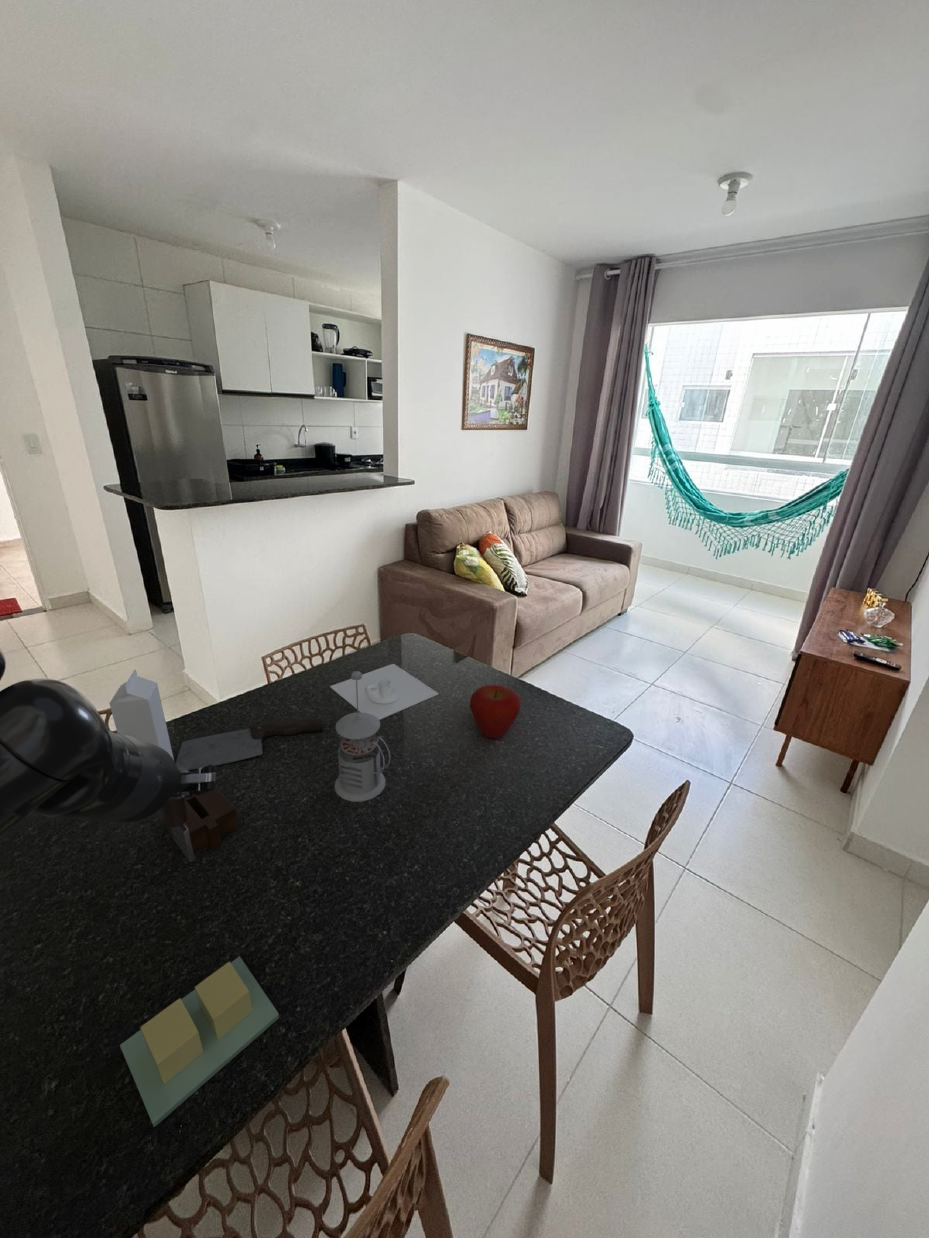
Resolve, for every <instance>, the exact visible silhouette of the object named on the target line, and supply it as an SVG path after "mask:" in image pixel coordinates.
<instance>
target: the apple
mask: <svg viewBox="0 0 929 1238" xmlns="http://www.w3.org/2000/svg"><path fill="white" fill-rule="evenodd" d="M521 703H522V701H521V698H520V696H519V694H518V693H517V692H515V691H514V690H513V689H511V688H510V687H507V686H504V685H500V684H485V685H482V686H480V687H479V688H478V689H476V690H475V691H474V692H473V693H472V694H471V697H470V701H469V708H470V711H471V713H472V716H473V719H474V721H475V723H476V724H475V725H476V726H477V728H478V732H480V733H481V734H482V735H484V736H485V737H486V738H489V739H498V738H500V737H502V736H505V734H506V733H508V732H509V729H511V727H512V725H513V724H514V722H515V721H516V719H517V717H518V716H519V714H520V711H521Z"/></svg>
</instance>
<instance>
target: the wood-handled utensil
mask: <svg viewBox="0 0 929 1238" xmlns="http://www.w3.org/2000/svg"><path fill="white" fill-rule="evenodd" d="M162 809H163V813H164V817H165V821H166V824H167V826H169V827H171V830H172V834H173V837H172V839H173V838H174V839H173V841H174V843H176V845H177V846H178V848H179V849H180V851H181V852H182V853H183V855H184V856H185V857H186V859H187V860H188V862H189V863H192V862H194V861H196V857H195V853H194V852H193V848H192V843H191V839H190V834H189V830H188V829H187V827H186V826H185V825H184V823H185V822H186V821H187V819H188V812H187V808H186V803H185V799H184V798H181V799H179V800H171V801H167V803H166V804H165V805H164V806H163V807H162Z"/></svg>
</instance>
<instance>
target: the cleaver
mask: <svg viewBox="0 0 929 1238" xmlns="http://www.w3.org/2000/svg"><path fill="white" fill-rule="evenodd" d="M322 731H324V720H323V718H320V717H317V718H316V717H312V718H299V719H298V718H297V719H288V720H280V721H273V722H266V723H265V722H264V723H260V724H255V725H254V724H253V725H252V726H251V727H250V728H244V729H238V730H233V731H227V732H223V733H222V732H221V733H217V734H211V735H206V736H201V737H196V738H193V739H188V740H184V741H182V742H181V745H180V748H179V750H178V754H177V758H176V761H175V764H176V766H177V767H180V768H185V769H188V770H189V771H191V770H198V768H203V767H205V766H208V765H213V766H216V767H217V766H221V765H225V764H231V763H234V762H239V761H243V760H246V759H250V758H254V757H257V756H262V755H263V754H264V752H263V741H264V740H265V739H266V738H268V737H272V736H291V735H293V736H294V735H297V734H301V733H309V732H322Z"/></svg>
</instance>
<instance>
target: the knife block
mask: <svg viewBox="0 0 929 1238" xmlns="http://www.w3.org/2000/svg"><path fill="white" fill-rule="evenodd" d="M184 799H185V803H186V808H187V812H188V819H187V821H186V822H185V823H184V825H185V826H186V827H187V829H188V830H189V834H190V839H191V843H192V848H193V852H194V854H196V853H198V852H200V851H202V850H203V849H205V848H207V847H208V846H210V847H211V849H212V850H214V851H215V850H216V849H217V848H220V847H221V846H222V845H223V843H222V839H223V838H224V837H226V836H228V835H229V834H231V833H233V832H235V831H236V830H238V829H240V827H239V821H238V814H237V810H236V807H235V806H234V805H233V804H232V802H231V801H230V800H229V799H228V798H227V797H226V796H225V794H224V793H223V792H222V791H220V789H219V788H218V787H217V786H216V788H215V789H213V790H211V791H209V792H206V793H203V794H201V795H196V794H194V795H193V797H184ZM160 812H161V817H162V820H163V824H164V827H165V829H166V831H167V832H168V834H170V836H171V837H172V839H173V840H174V838H173V834H172V830H171V827H169V826H167V824H166V821H165V817H164V813H163V809H162V808H161V809H160Z"/></svg>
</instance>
